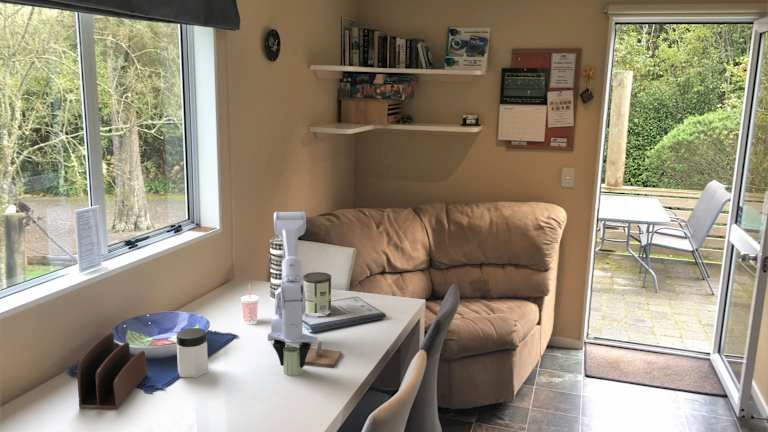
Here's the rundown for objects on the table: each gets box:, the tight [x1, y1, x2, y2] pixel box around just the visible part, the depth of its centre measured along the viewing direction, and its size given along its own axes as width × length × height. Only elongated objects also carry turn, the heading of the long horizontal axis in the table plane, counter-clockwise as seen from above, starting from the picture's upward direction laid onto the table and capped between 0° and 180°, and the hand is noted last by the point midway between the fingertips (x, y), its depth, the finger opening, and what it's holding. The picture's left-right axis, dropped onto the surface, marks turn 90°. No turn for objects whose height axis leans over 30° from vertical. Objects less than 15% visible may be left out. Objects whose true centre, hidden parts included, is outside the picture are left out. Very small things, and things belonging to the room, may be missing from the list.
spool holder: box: [304, 340, 343, 369], centre depth 190 cm, size 12×10×6 cm
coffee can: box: [302, 271, 332, 313], centre depth 228 cm, size 10×10×14 cm
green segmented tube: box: [282, 345, 303, 376], centre depth 181 cm, size 5×5×7 cm
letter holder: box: [76, 332, 148, 411], centre depth 167 cm, size 10×20×14 cm, turn 179°
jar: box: [176, 327, 209, 379], centre depth 179 cm, size 9×8×12 cm
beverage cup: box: [240, 283, 260, 325], centre depth 217 cm, size 6×6×14 cm
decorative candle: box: [268, 235, 283, 303], centre depth 241 cm, size 9×9×25 cm
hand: (292, 365), depth 182 cm, fingers closed on green segmented tube, 5 cm apart
